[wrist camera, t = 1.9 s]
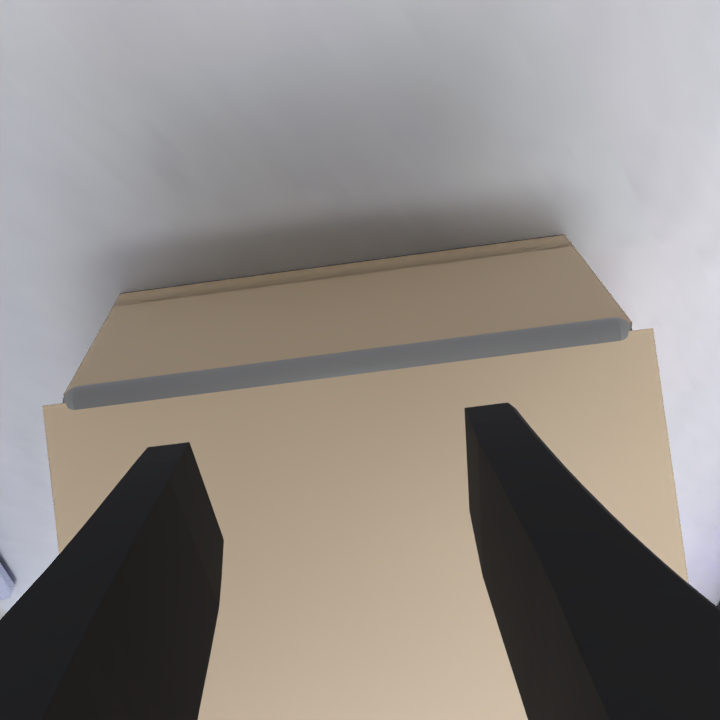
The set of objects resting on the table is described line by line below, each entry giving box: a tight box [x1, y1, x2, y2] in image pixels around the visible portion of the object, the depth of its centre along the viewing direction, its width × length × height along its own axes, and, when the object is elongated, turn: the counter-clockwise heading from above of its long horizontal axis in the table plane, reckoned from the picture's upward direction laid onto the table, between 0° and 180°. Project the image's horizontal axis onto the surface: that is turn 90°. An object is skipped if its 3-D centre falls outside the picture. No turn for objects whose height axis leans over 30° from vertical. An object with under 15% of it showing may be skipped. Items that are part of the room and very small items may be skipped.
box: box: [64, 235, 632, 395], centre depth 20 cm, size 13×12×5 cm
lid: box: [43, 317, 689, 720], centre depth 14 cm, size 13×12×1 cm
